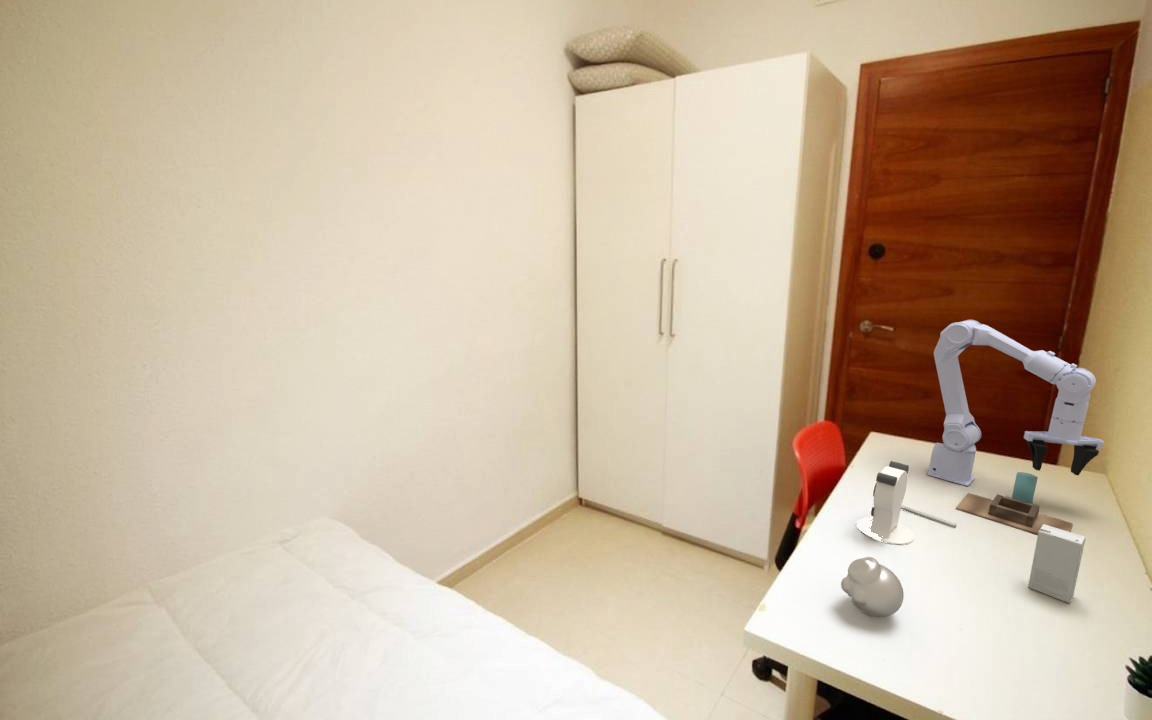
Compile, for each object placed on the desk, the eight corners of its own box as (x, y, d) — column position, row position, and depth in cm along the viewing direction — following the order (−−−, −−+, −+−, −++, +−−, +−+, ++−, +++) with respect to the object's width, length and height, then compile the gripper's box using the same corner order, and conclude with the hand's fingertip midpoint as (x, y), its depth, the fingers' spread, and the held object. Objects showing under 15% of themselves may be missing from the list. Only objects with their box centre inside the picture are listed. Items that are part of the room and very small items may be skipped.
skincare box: (1074, 594, 95) (1088, 536, 92) (1069, 605, 92) (1084, 545, 89) (1030, 578, 99) (1043, 522, 97) (1025, 588, 97) (1038, 530, 94)
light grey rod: (955, 527, 118) (956, 523, 118) (954, 529, 117) (954, 525, 117) (896, 507, 128) (896, 503, 127) (894, 508, 127) (894, 505, 127)
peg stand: (955, 509, 126) (957, 497, 125) (967, 494, 134) (969, 483, 133) (1065, 543, 111) (1068, 531, 111) (1072, 524, 119) (1075, 513, 118)
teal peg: (1010, 500, 130) (1015, 475, 129) (1013, 495, 133) (1018, 470, 131) (1030, 506, 127) (1036, 480, 126) (1033, 501, 130) (1038, 475, 129)
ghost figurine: (840, 587, 97) (846, 540, 94) (899, 605, 92) (907, 555, 90) (836, 616, 89) (843, 565, 87) (900, 637, 84) (909, 583, 82)
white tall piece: (866, 511, 124) (874, 454, 121) (920, 530, 116) (930, 469, 113) (849, 530, 116) (857, 469, 113) (906, 551, 108) (917, 486, 105)
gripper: (1039, 420, 121) (1027, 473, 124) (1117, 428, 116) (1102, 482, 119) (1024, 411, 127) (1013, 462, 131) (1098, 418, 123) (1084, 470, 126)
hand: (1055, 471), depth 125 cm, fingers open, 7 cm apart
